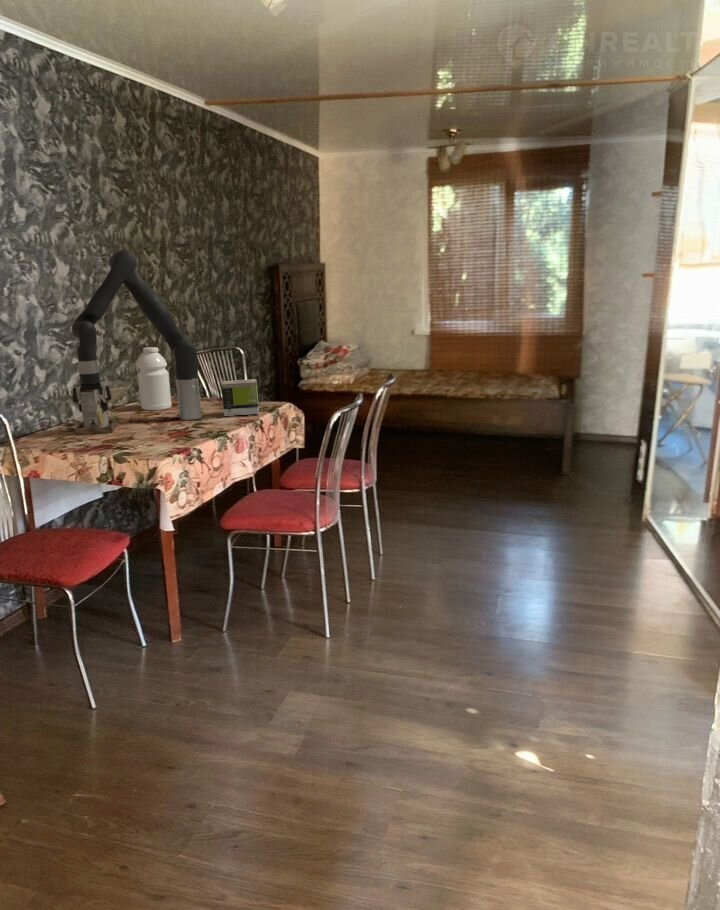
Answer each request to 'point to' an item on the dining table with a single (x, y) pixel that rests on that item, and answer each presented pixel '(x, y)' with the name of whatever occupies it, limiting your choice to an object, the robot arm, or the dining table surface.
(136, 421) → the dining table surface
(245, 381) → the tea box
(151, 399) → the bottle
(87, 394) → the coffee box
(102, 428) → the walnut tray
